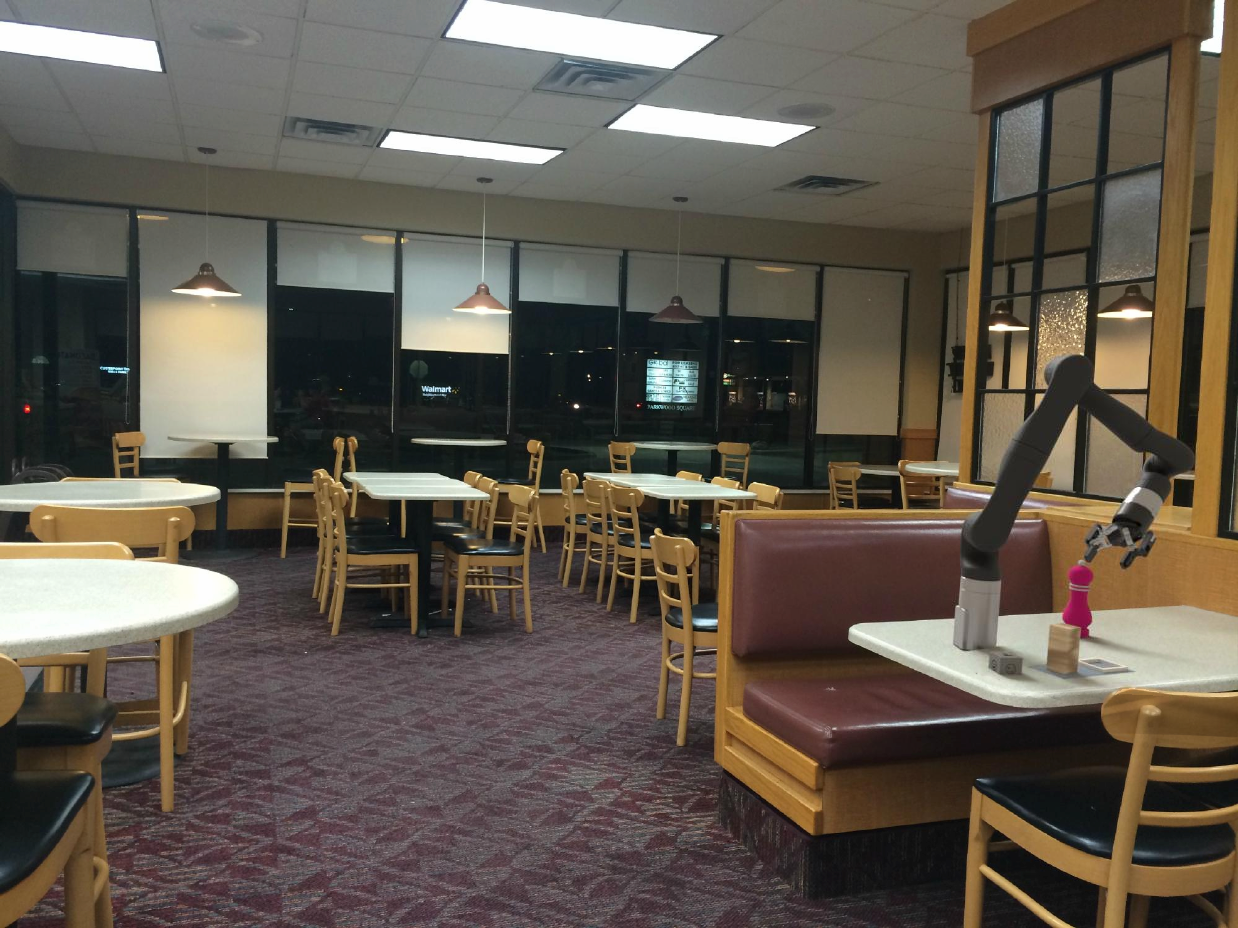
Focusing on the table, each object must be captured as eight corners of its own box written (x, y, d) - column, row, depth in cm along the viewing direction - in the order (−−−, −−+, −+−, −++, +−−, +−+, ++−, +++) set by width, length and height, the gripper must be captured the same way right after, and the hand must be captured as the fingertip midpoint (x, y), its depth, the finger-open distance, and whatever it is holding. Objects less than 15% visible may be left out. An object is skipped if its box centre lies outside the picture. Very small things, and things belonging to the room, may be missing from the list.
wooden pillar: (1064, 674, 209) (1068, 629, 208) (1046, 668, 213) (1049, 624, 212) (1077, 672, 211) (1080, 627, 211) (1058, 666, 215) (1062, 622, 215)
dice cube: (998, 680, 207) (1000, 657, 206) (988, 673, 212) (989, 651, 211) (1021, 680, 207) (1022, 657, 207) (1009, 673, 212) (1011, 651, 212)
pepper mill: (1087, 639, 249) (1094, 563, 247) (1057, 634, 253) (1064, 559, 252) (1093, 634, 255) (1099, 560, 253) (1064, 629, 259) (1070, 556, 258)
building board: (1063, 684, 206) (1064, 674, 206) (1026, 671, 215) (1027, 662, 215) (1134, 676, 215) (1135, 667, 214) (1096, 664, 224) (1097, 656, 224)
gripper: (1102, 497, 226) (1069, 547, 221) (1162, 504, 214) (1128, 557, 209) (1114, 518, 229) (1081, 569, 224) (1174, 526, 217) (1141, 580, 212)
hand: (1104, 563), depth 217 cm, fingers open, 8 cm apart
